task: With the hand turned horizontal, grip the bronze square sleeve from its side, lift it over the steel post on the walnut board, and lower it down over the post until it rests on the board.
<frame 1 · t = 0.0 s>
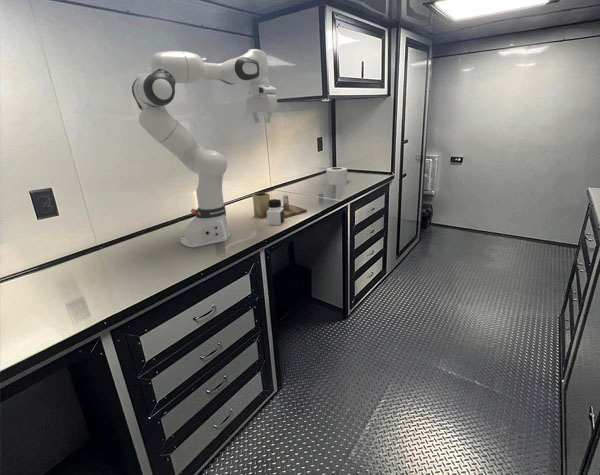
hand: (262, 122, 159), 48 cm above the workbench, tool pointing down, fingers open, 8 cm apart
medicine bottle: (276, 223, 173), on the workbench
post board: (286, 212, 189), on the workbench
white paper roll: (336, 183, 258), on the workbench
sleeve: (262, 216, 185), on the workbench
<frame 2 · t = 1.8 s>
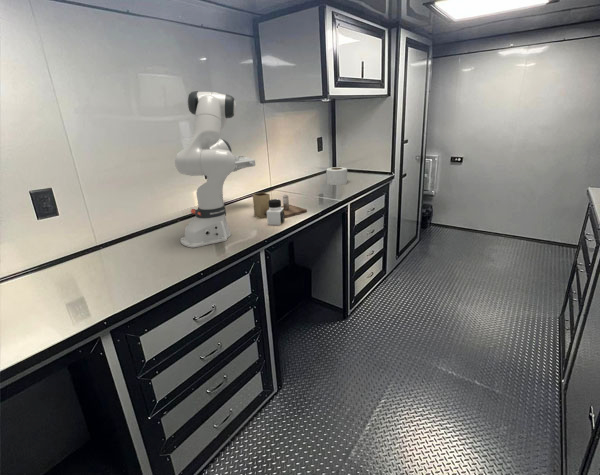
hand: (244, 166, 186), 25 cm above the workbench, tool horizontal, fingers open, 8 cm apart
nothing on the workbench moved.
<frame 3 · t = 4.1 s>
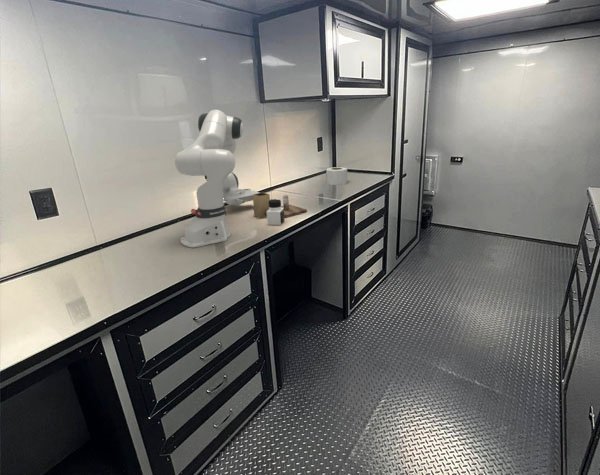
hand: (250, 200, 190), 7 cm above the workbench, tool horizontal, fingers open, 8 cm apart
nothing on the workbench moved.
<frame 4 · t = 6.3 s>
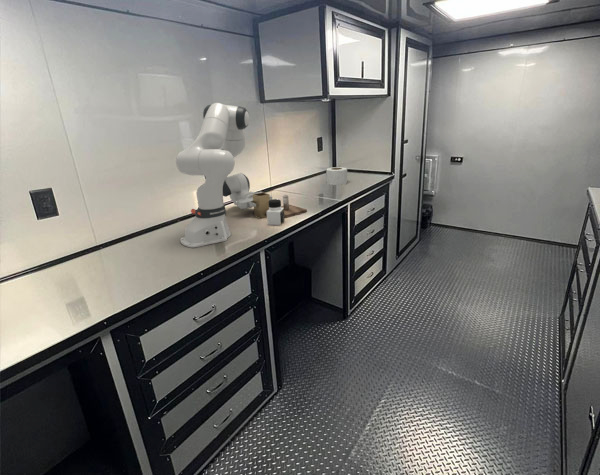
hand: (262, 203, 182), 7 cm above the workbench, tool horizontal, fingers closed on sleeve, 6 cm apart
sleeve: (262, 216, 185), on the workbench, touching gripper
everything else where it was.
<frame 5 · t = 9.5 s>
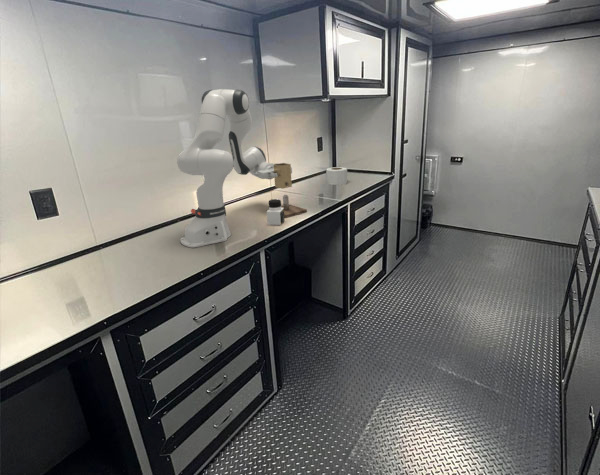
hand: (283, 174, 181), 21 cm above the workbench, tool horizontal, fingers closed on sleeve, 6 cm apart
sleeve: (283, 186, 185), point 14 cm above the workbench, touching gripper
everything else where it was.
when the fingers open (9 cm above the workbench, at t = 12.6 s): sleeve stays where it is, resting on post board.
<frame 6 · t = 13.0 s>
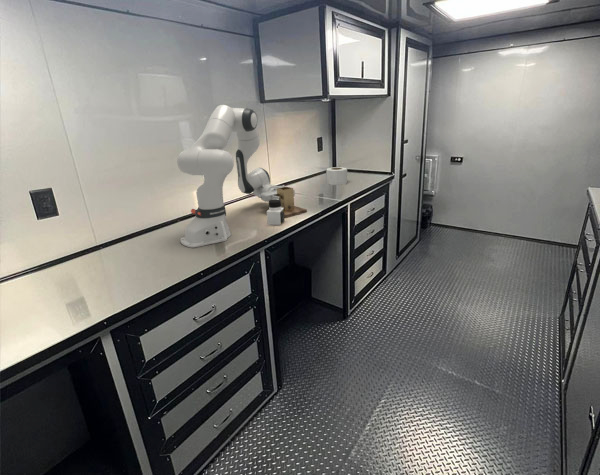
hand: (286, 196, 186), 9 cm above the workbench, tool horizontal, fingers open, 8 cm apart
sleeve: (286, 209, 189), point 1 cm above the workbench, touching post board
everything else where it was.
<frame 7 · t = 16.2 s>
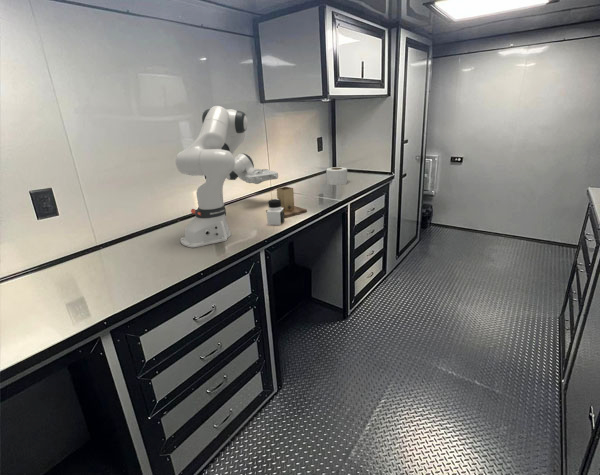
hand: (269, 178, 194), 17 cm above the workbench, tool horizontal, fingers open, 8 cm apart
nothing on the workbench moved.
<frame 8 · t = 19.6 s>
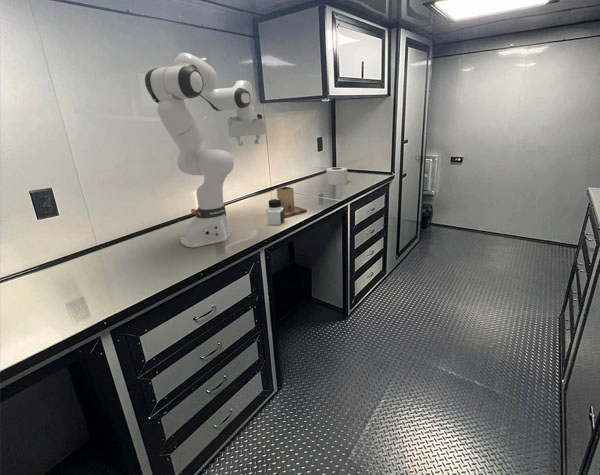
hand: (248, 144, 176), 37 cm above the workbench, tool pointing down, fingers open, 8 cm apart
nothing on the workbench moved.
at the end: sleeve 0.1 cm off-centre on the post board, point 1.5 cm above the post board's base; sleeve tilted 0°; the gripper is holding nothing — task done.
